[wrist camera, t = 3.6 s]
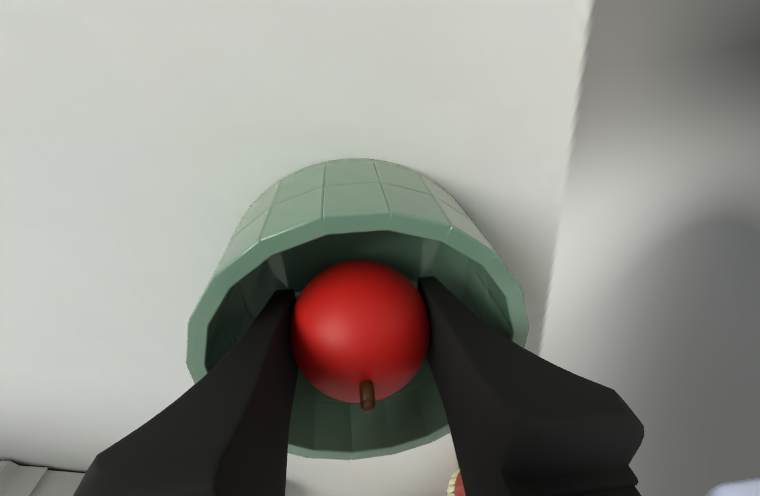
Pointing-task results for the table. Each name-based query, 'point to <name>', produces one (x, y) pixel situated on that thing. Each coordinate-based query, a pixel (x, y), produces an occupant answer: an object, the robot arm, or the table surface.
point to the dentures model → (456, 485)
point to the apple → (359, 331)
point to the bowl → (341, 243)
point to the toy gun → (36, 481)
